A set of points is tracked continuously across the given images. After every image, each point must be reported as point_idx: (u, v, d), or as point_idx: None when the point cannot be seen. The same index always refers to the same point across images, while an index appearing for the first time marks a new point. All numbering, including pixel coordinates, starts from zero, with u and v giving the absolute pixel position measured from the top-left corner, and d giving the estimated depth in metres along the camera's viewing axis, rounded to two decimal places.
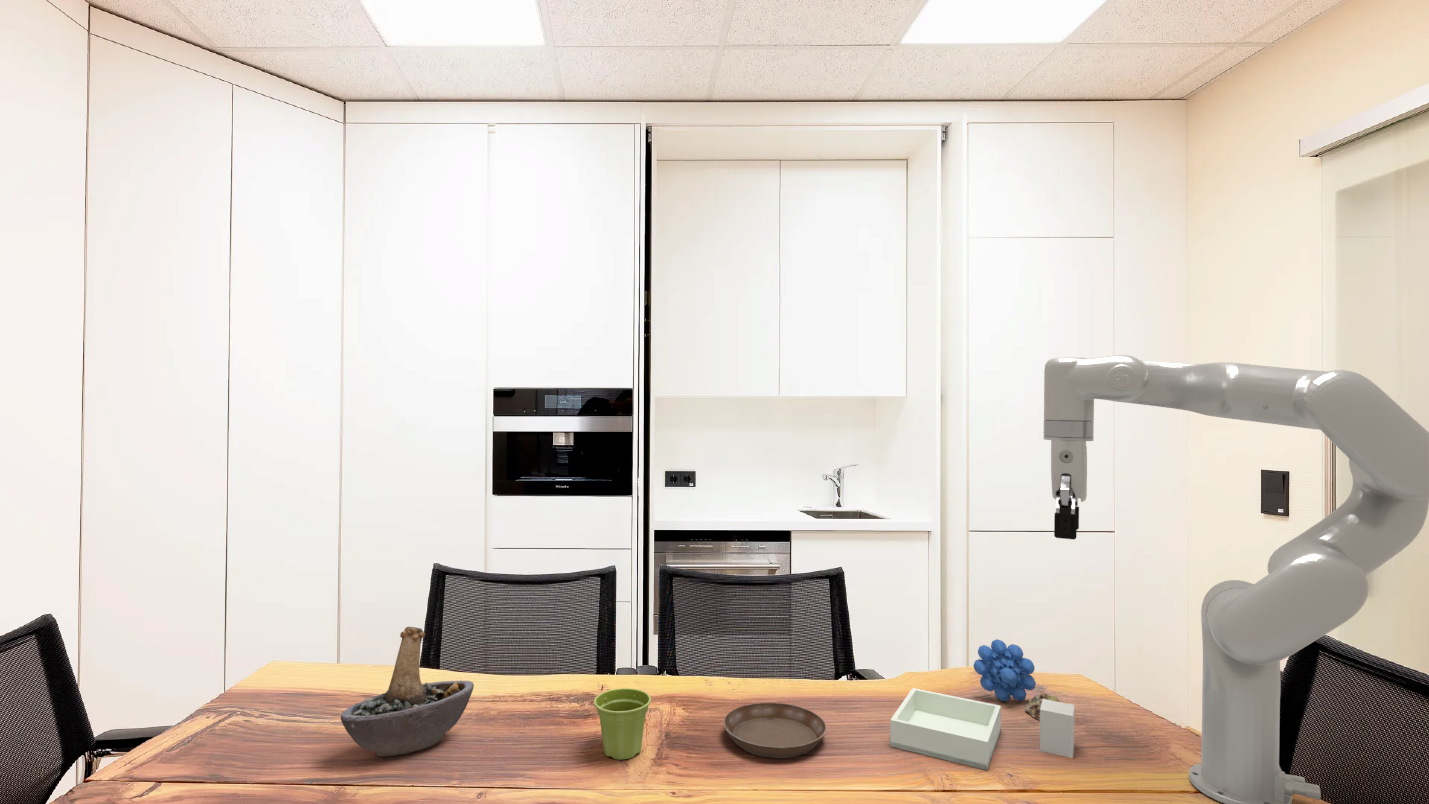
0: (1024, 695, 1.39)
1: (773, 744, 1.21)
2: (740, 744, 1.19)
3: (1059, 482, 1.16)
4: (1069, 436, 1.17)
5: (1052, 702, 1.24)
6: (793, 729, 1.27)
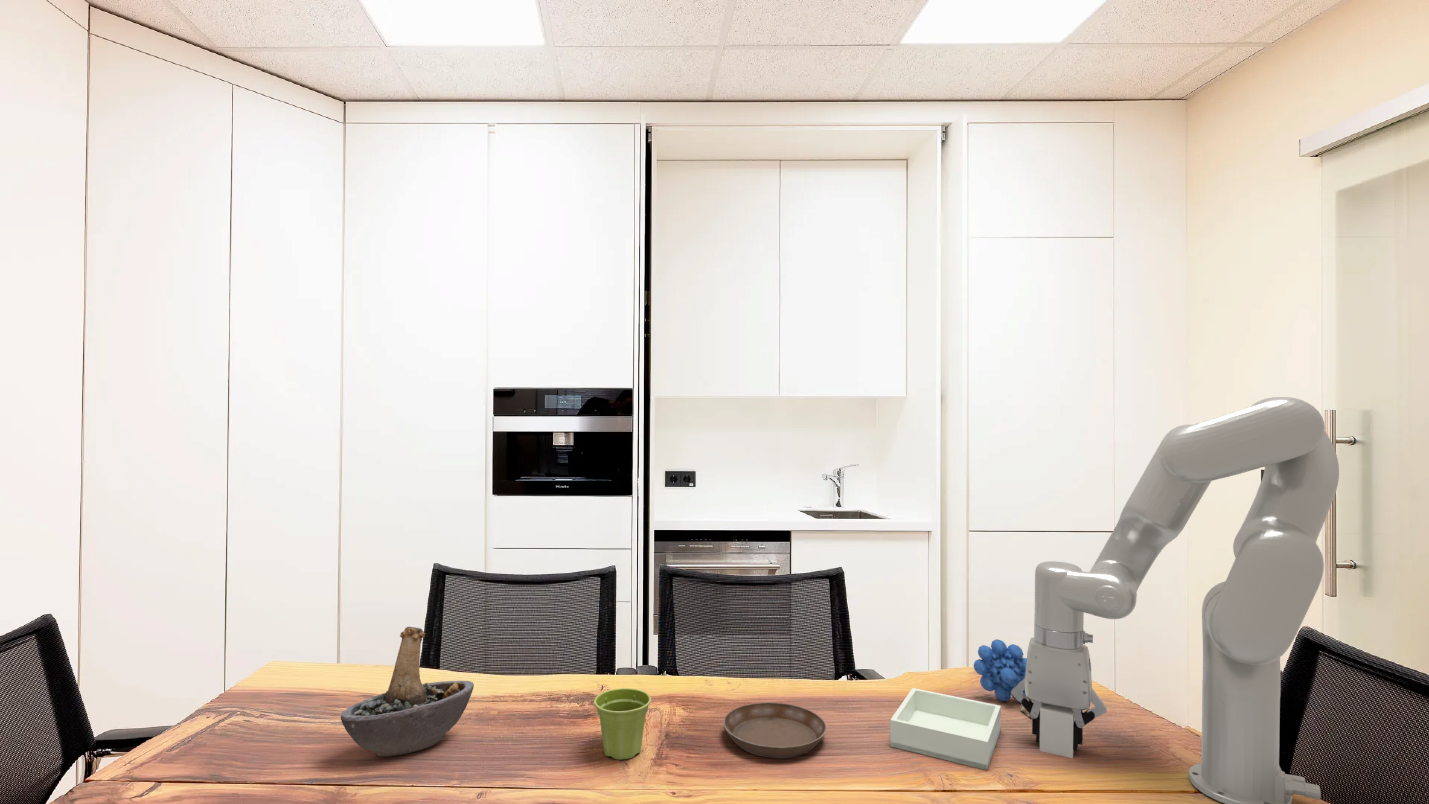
0: None
1: (773, 744, 1.21)
2: (740, 744, 1.19)
3: (1090, 692, 1.19)
4: None
5: None
6: (793, 729, 1.27)
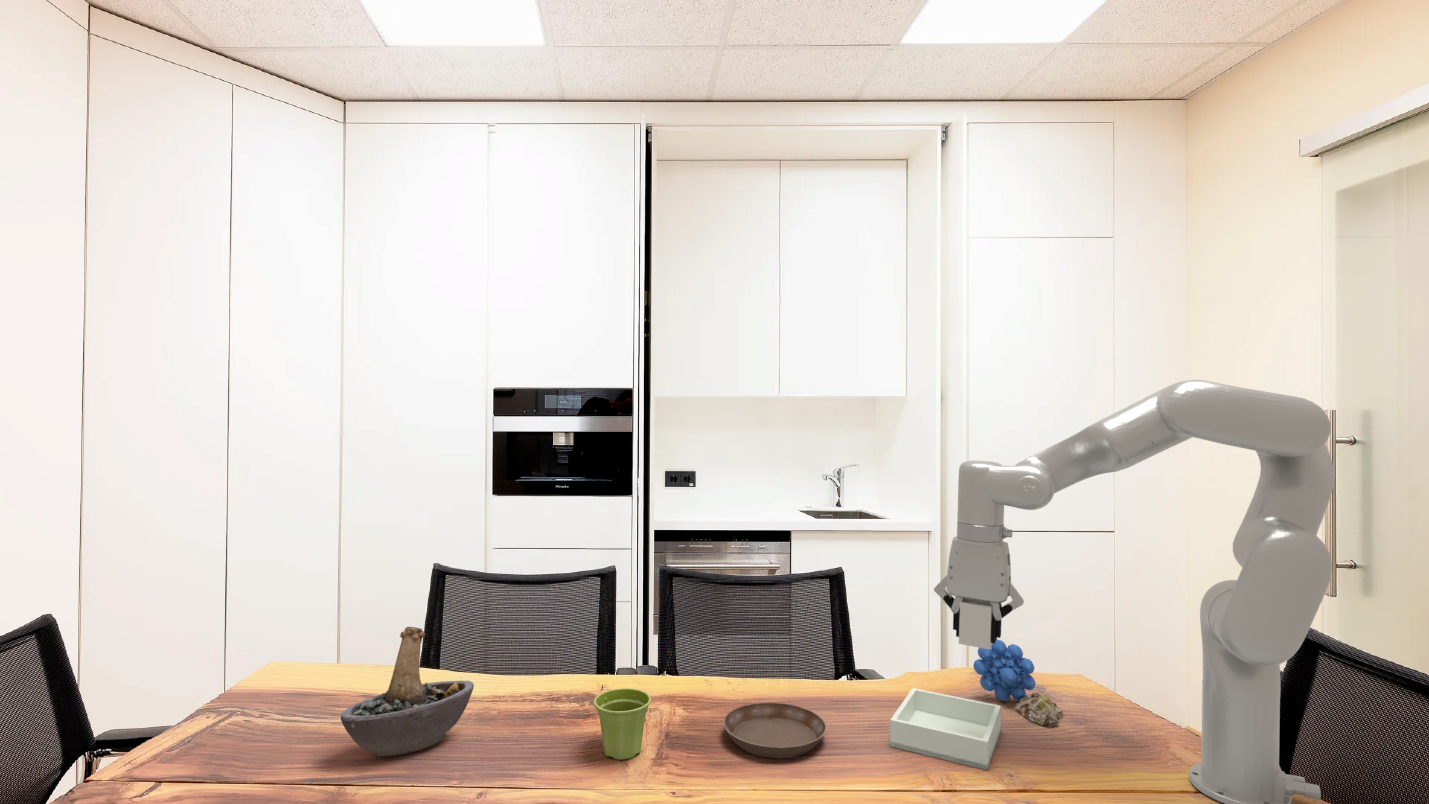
0: (1024, 695, 1.39)
1: (773, 744, 1.21)
2: (740, 744, 1.19)
3: (1008, 585, 1.21)
4: None
5: None
6: (793, 729, 1.27)
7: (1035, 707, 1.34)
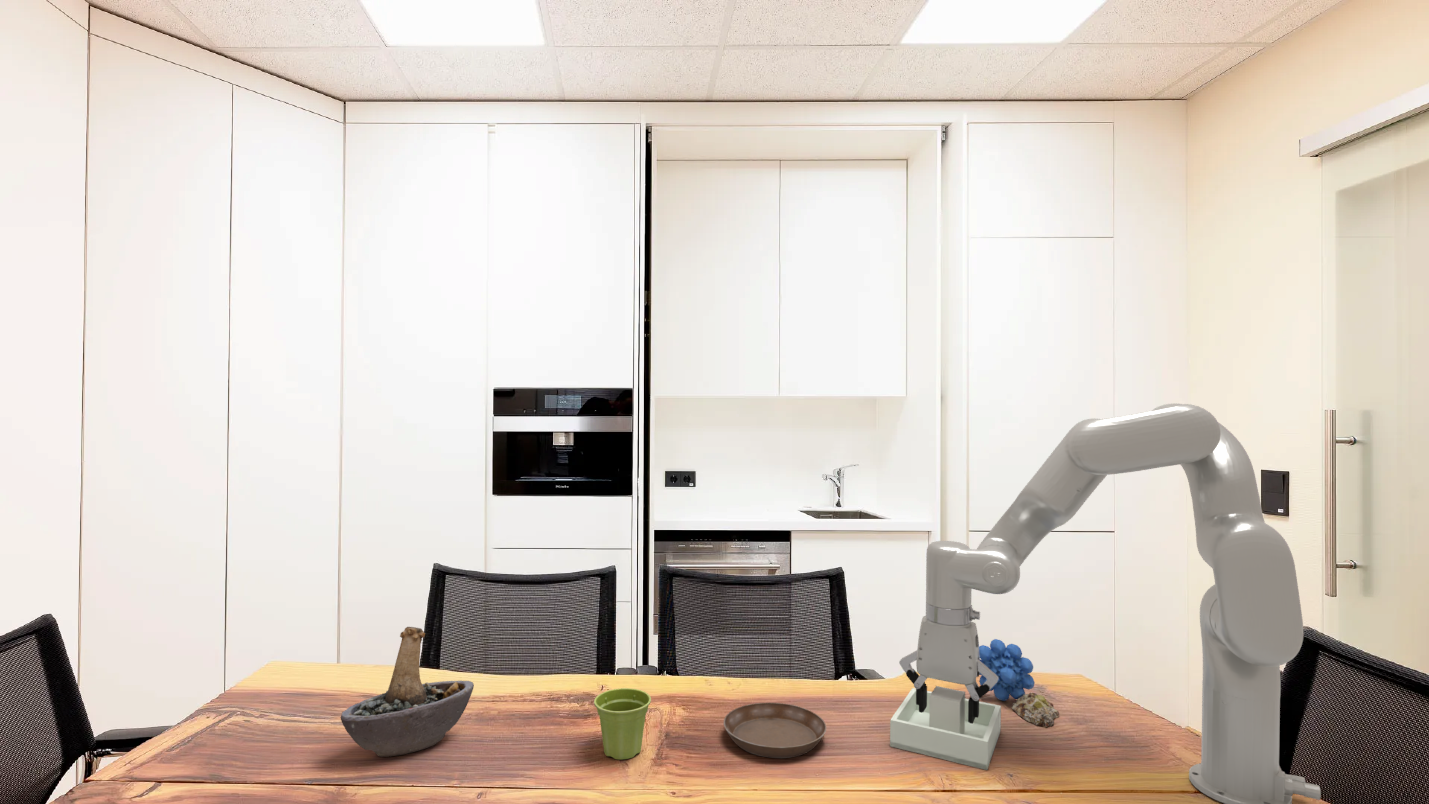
0: (1023, 694, 1.40)
1: (773, 744, 1.21)
2: (740, 744, 1.19)
3: (977, 667, 1.22)
4: None
5: (944, 689, 1.27)
6: (793, 729, 1.27)
7: (1031, 707, 1.34)
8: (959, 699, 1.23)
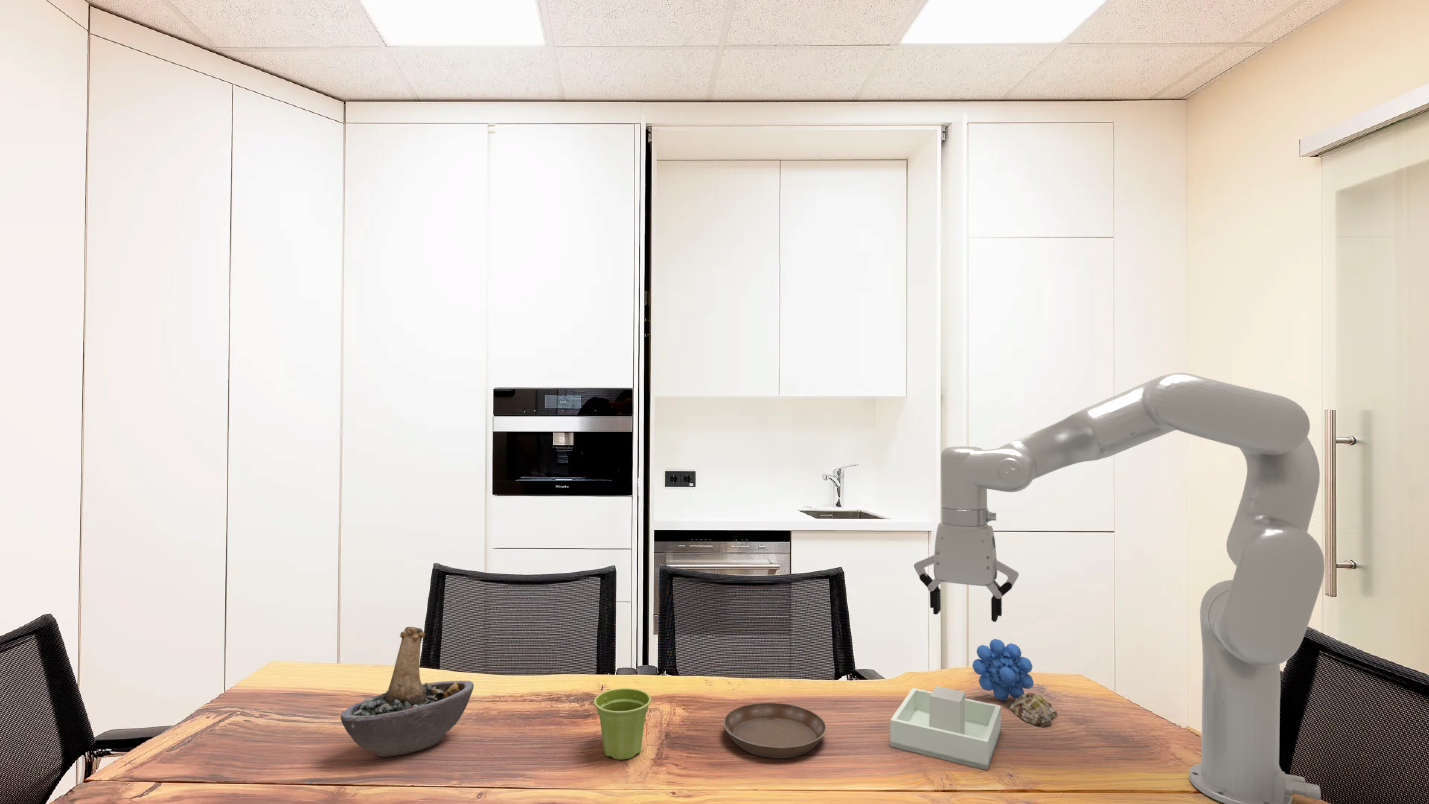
0: (1022, 694, 1.40)
1: (773, 744, 1.21)
2: (740, 744, 1.19)
3: (994, 568, 1.22)
4: (986, 522, 1.24)
5: (944, 689, 1.27)
6: (793, 729, 1.27)
7: (1029, 707, 1.34)
8: (959, 699, 1.23)
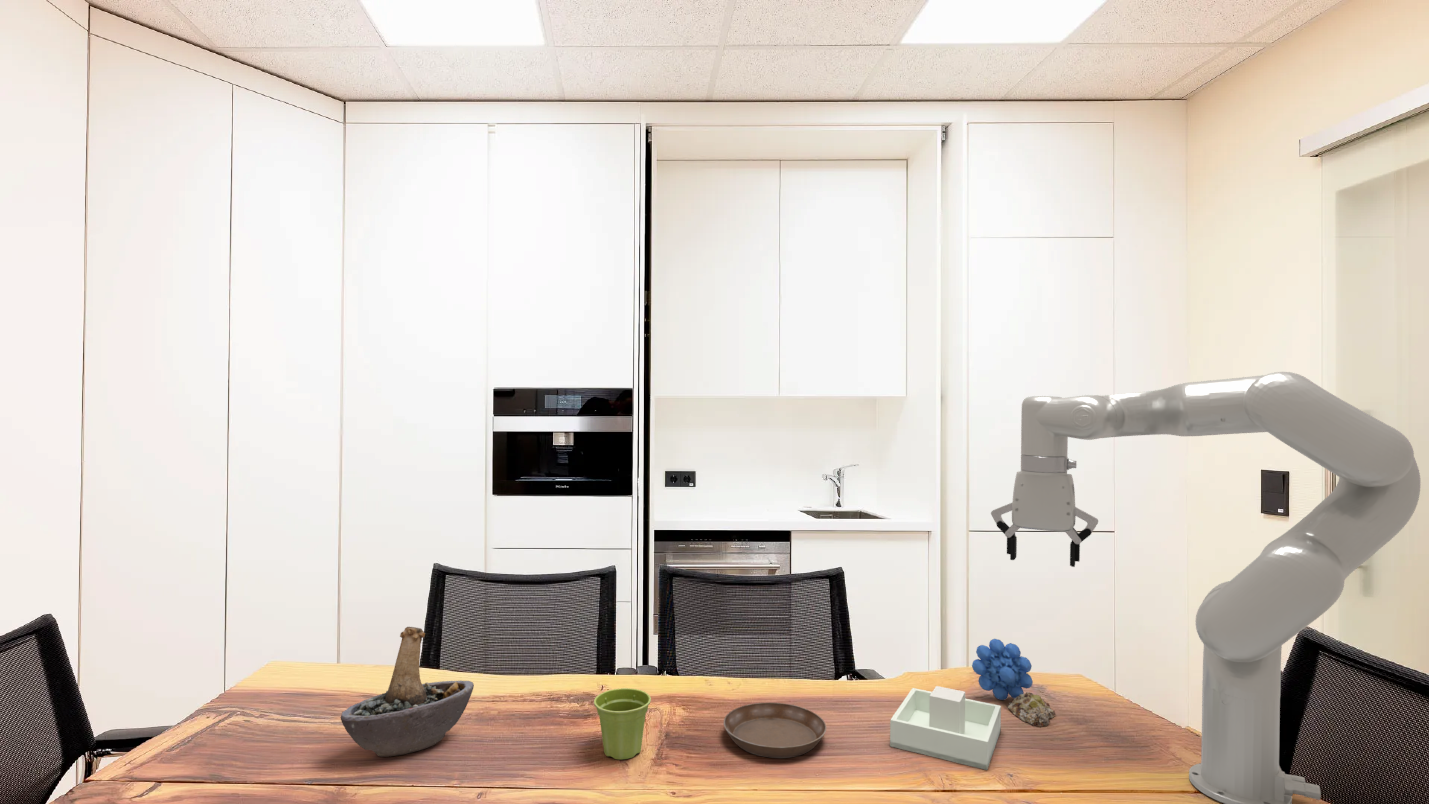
0: (1022, 693, 1.40)
1: (773, 744, 1.21)
2: (740, 744, 1.19)
3: (1074, 514, 1.24)
4: None
5: (944, 689, 1.27)
6: (793, 729, 1.27)
7: (1027, 706, 1.34)
8: (959, 699, 1.23)
